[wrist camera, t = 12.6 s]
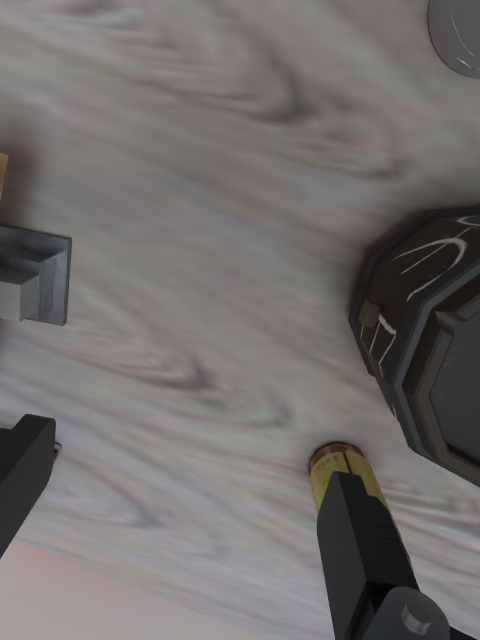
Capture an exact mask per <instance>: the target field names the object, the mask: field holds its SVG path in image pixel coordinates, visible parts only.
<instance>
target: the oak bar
mask: <svg viewBox="0 0 480 640" xmlns="http://www.w3.org/2000/svg"><path fill="white" fill-rule="evenodd" d="M8 157H9V155H6V154H3V153H1V152H0V199H1V194H2V189H3V184H4V178H5V173H6V168H7V163H8Z"/></svg>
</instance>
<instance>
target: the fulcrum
mask: <svg viewBox="0 0 480 640" xmlns="http://www.w3.org/2000/svg"><path fill="white" fill-rule="evenodd" d="M71 243H72V239H70V238H65V237H60V236H55V235H50V234H45V233H40V232H35V231H30V230H25V229H21V228H16V227H11V226H6V225H1V224H0V319H4V320H10V321H15V322H21V321H22V320H23V319H28V320H33V321H39V322H44V323H49V324H54V325H60V326H63V325H64V324H66V317H67V302H68V287H69V273H70V258H71Z"/></svg>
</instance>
